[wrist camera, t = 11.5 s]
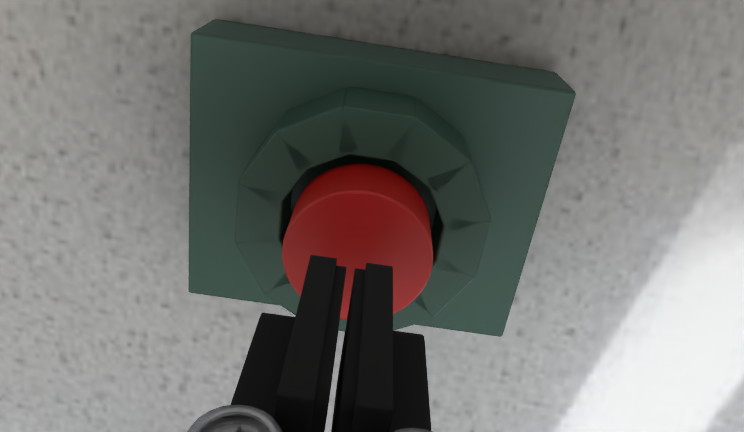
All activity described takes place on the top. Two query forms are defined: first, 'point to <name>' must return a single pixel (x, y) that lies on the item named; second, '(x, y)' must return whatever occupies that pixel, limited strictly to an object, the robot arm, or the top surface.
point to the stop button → (361, 229)
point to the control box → (367, 159)
